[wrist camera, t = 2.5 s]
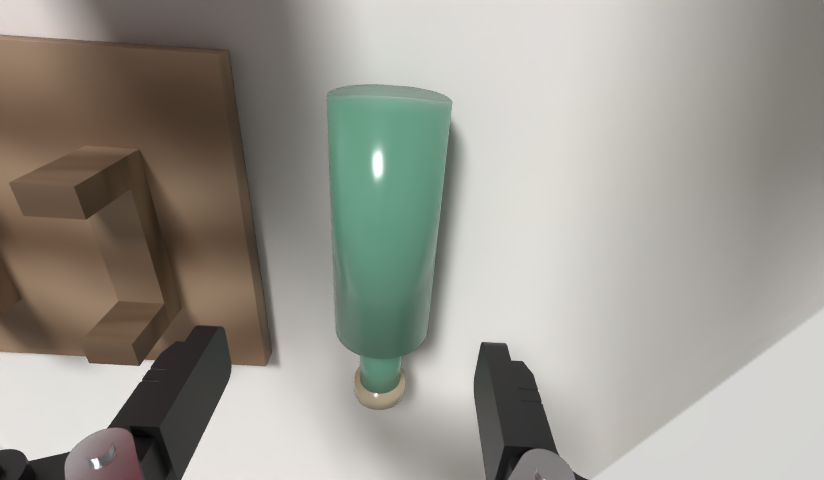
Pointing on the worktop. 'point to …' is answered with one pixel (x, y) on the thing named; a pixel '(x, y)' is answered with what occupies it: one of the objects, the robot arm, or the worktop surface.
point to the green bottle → (385, 225)
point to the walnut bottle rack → (123, 202)
